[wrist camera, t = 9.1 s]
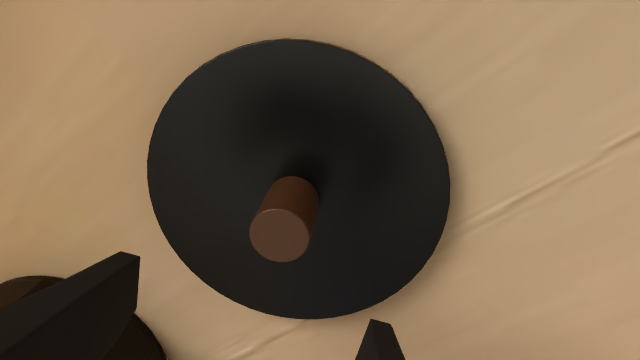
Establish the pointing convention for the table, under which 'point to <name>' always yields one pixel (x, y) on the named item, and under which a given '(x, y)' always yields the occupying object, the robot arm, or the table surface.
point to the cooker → (130, 348)
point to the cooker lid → (298, 179)
